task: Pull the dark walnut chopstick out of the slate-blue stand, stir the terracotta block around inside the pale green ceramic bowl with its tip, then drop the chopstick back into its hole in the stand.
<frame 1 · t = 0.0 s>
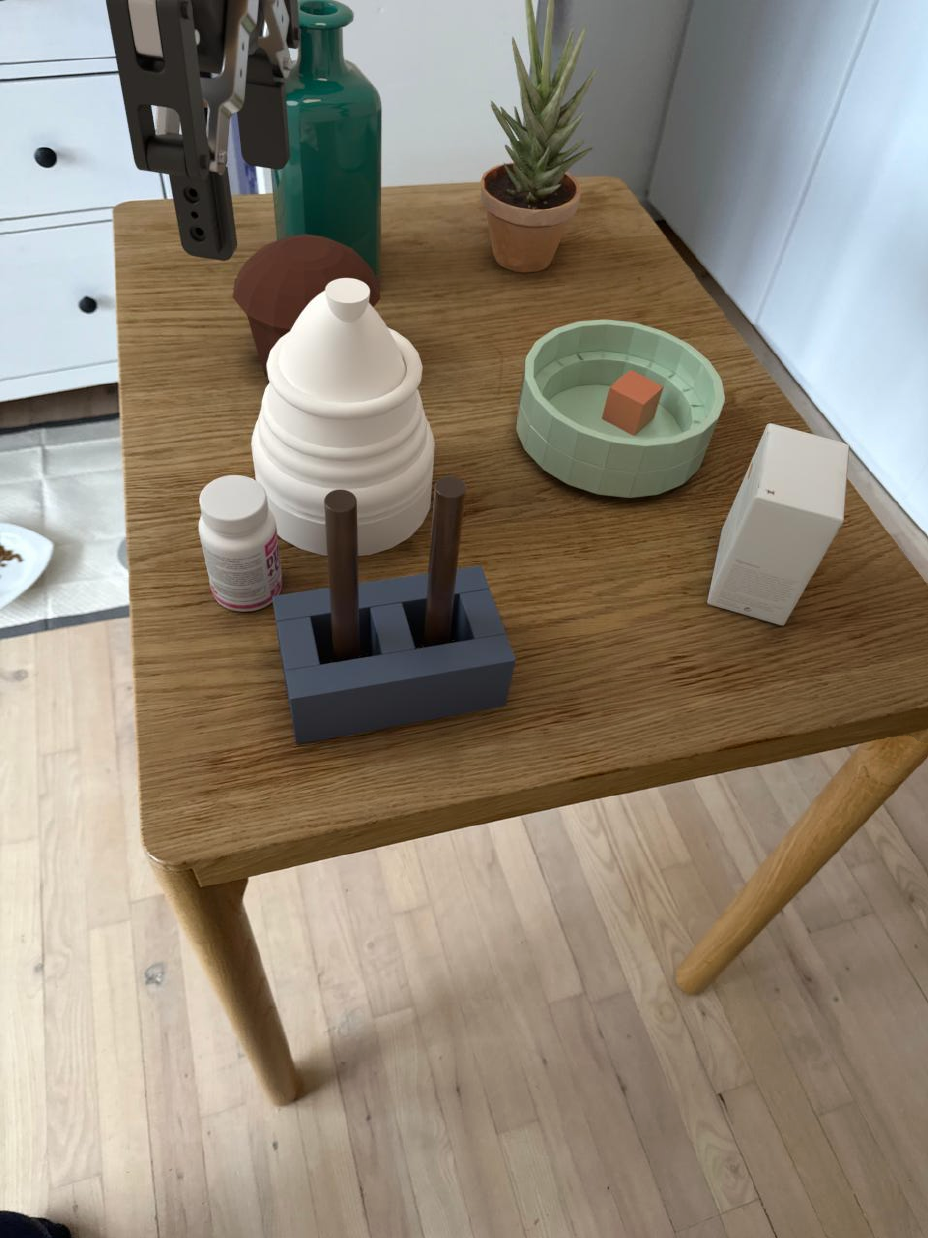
hand: (240, 206, 41), 26 cm above the table, tool pointing down, fingers open, 8 cm apart
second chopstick: (433, 667, 58), resting in chopstick stand
block: (627, 418, 74), point 1 cm above the table, touching bowl
small box: (749, 579, 65), on the table
pill bottle: (247, 588, 61), on the table
muffin: (312, 360, 77), on the table
potted plant: (521, 259, 89), on the table
bowl: (608, 438, 73), on the table
chopstick stand: (391, 675, 57), on the table
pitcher: (323, 272, 85), on the table
honey pot: (345, 495, 67), on the table
chopstick: (347, 682, 56), resting in chopstick stand
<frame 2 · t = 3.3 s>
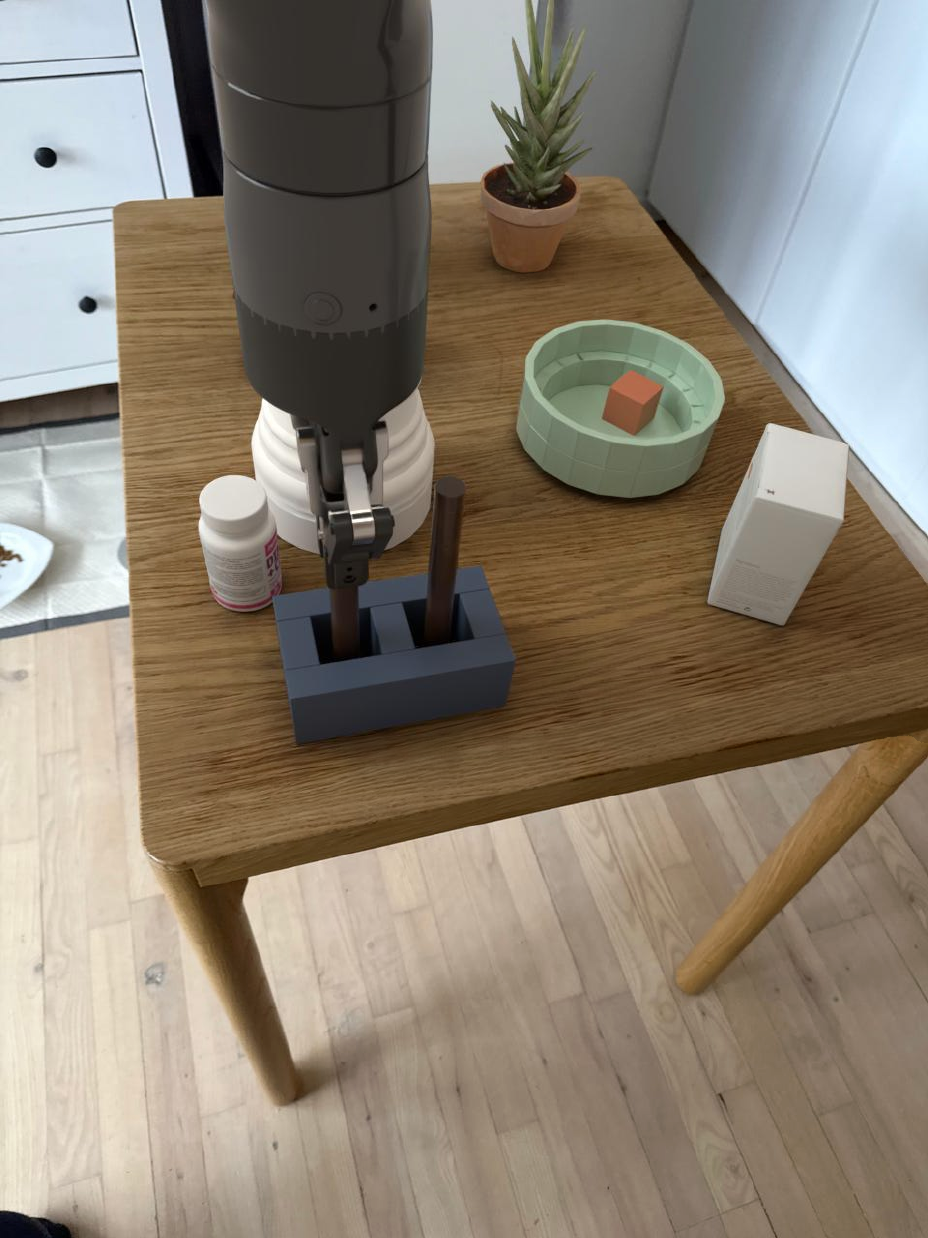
hand: (343, 566, 48), 11 cm above the table, tool pointing down, fingers closed on chopstick
chopstick: (347, 682, 56), resting in chopstick stand, touching gripper
everything else where it was.
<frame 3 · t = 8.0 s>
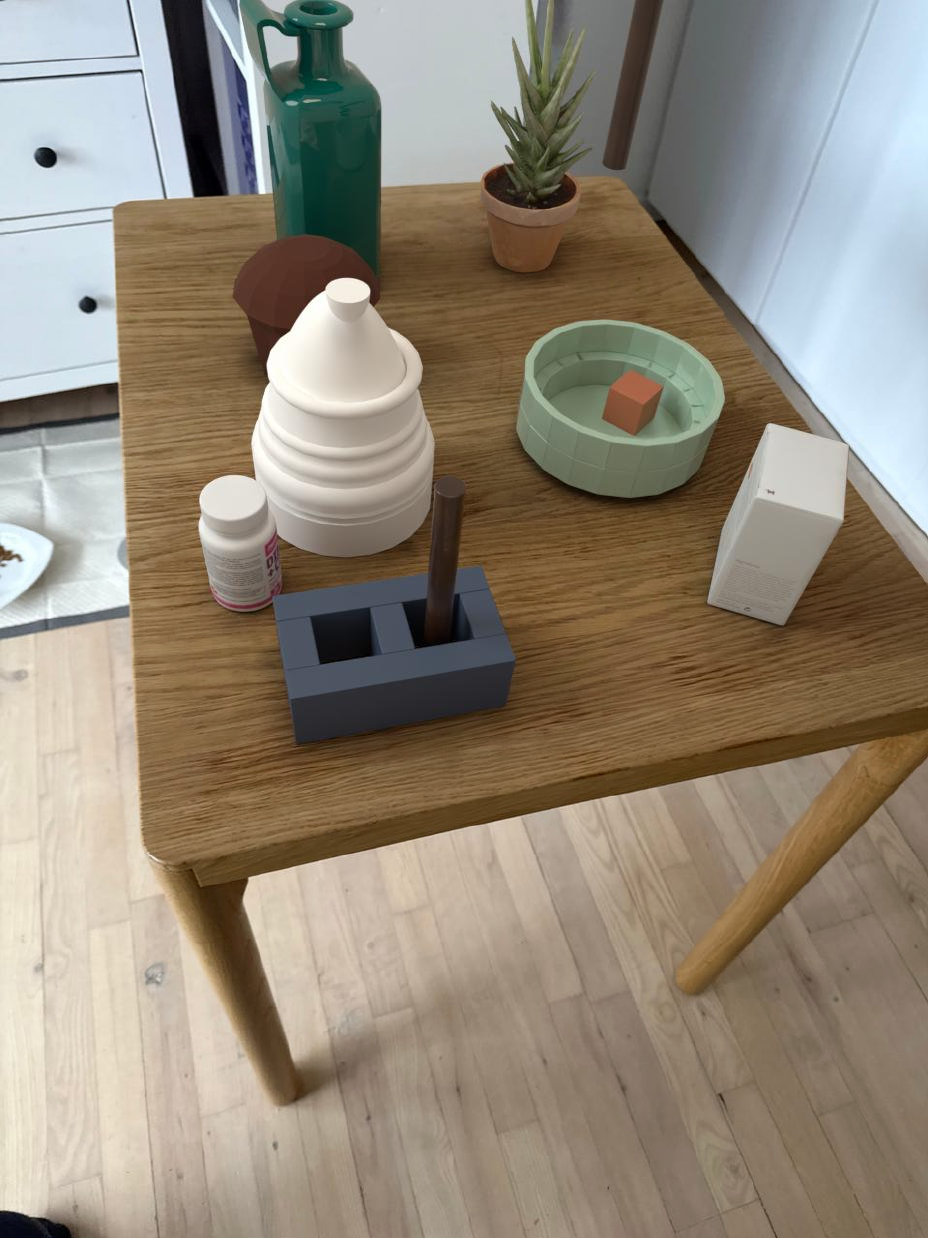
chopstick: (614, 164, 56), point 22 cm above the table, touching gripper
everything else where it was.
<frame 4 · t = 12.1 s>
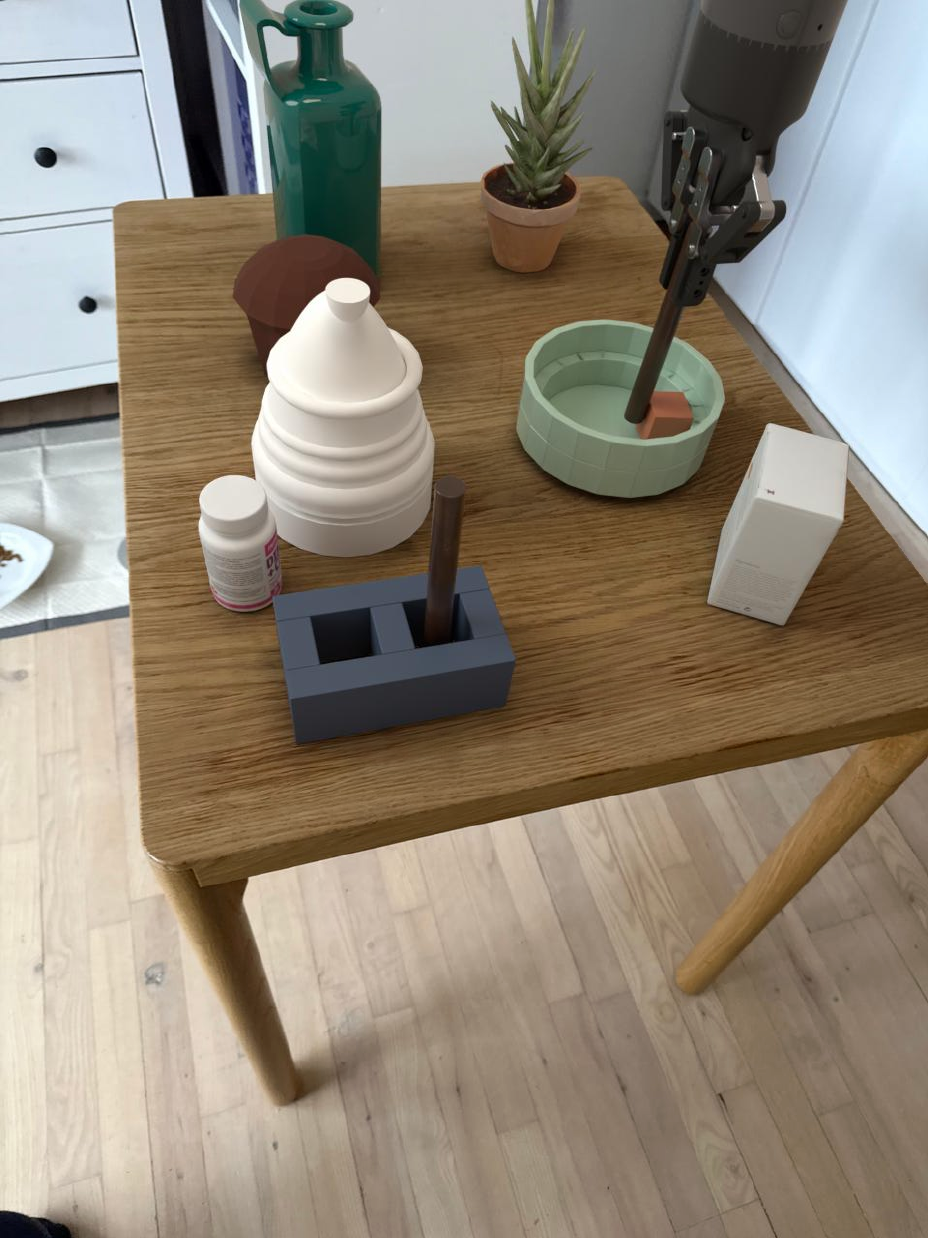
hand: (679, 293, 62), 14 cm above the table, tool pointing down, fingers closed on chopstick, 1 cm apart
block: (657, 435, 72), point 1 cm above the table, touching bowl, chopstick
chopstick: (633, 417, 71), point 2 cm above the table, touching block, gripper
everything else where it was.
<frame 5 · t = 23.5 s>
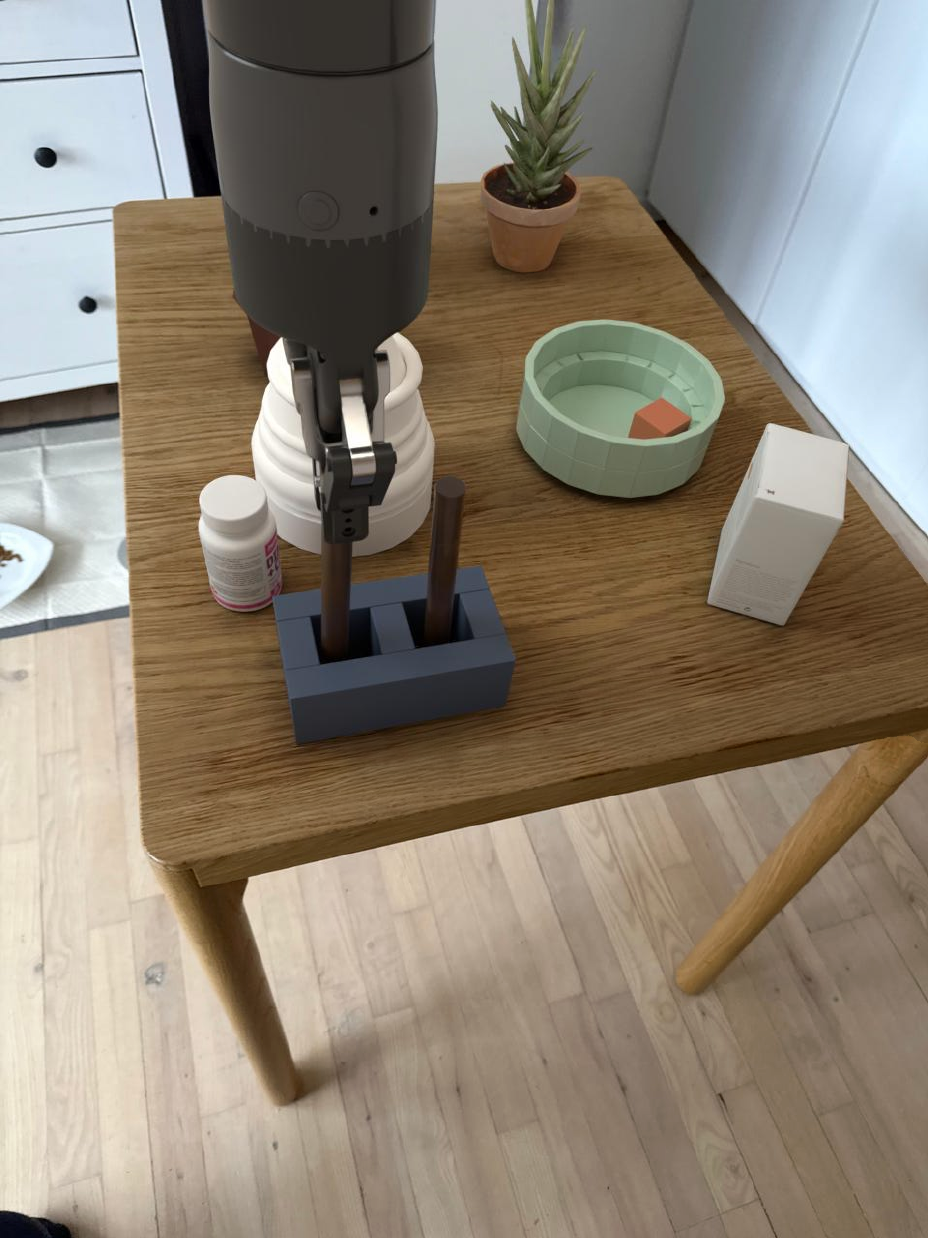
hand: (341, 520, 45), 15 cm above the table, tool pointing down, fingers closed on chopstick, 1 cm apart
block: (653, 446, 72), point 1 cm above the table, touching bowl
chopstick: (334, 651, 53), point 4 cm above the table, touching gripper
everything else where it was.
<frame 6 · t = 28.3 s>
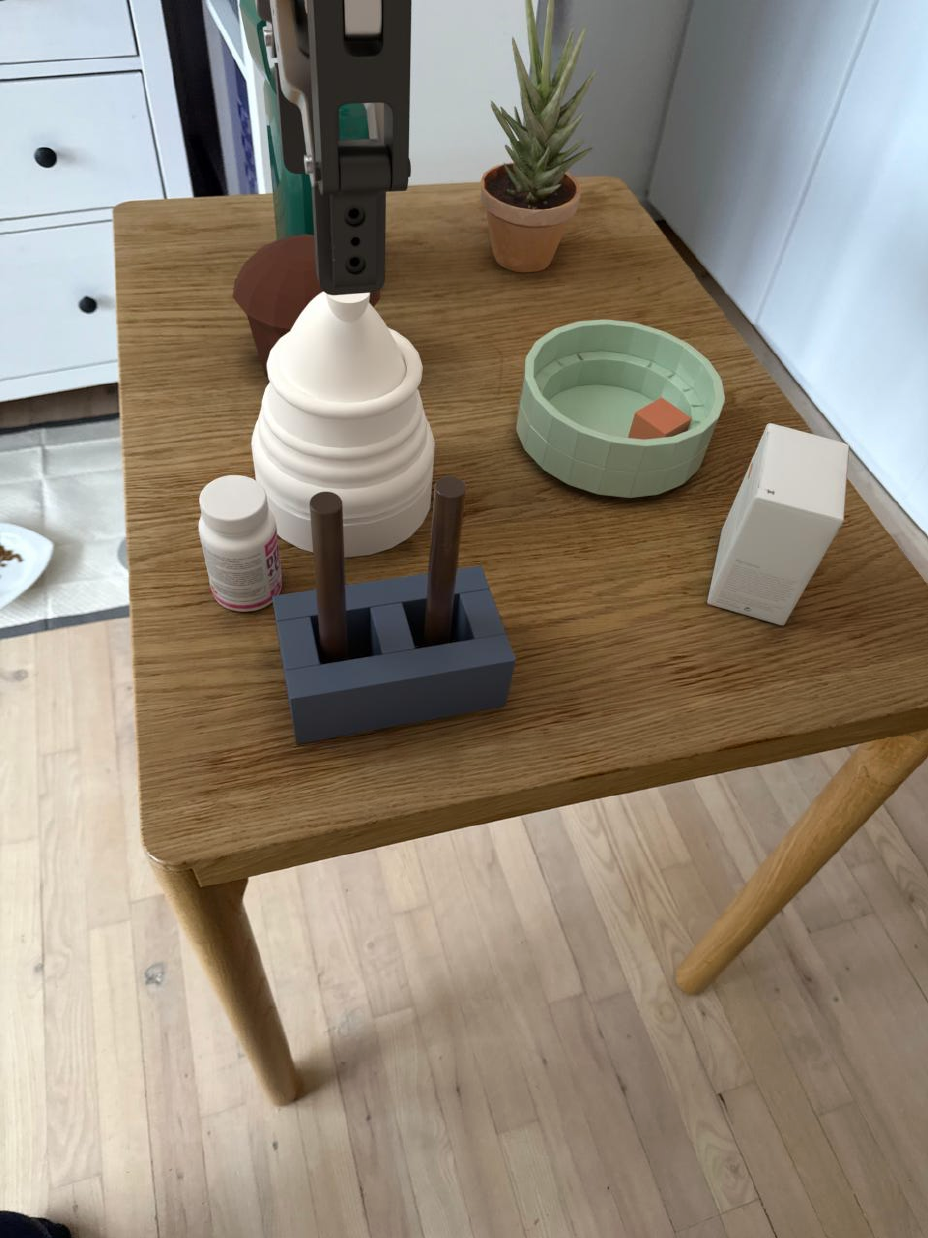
hand: (329, 223, 33), 30 cm above the table, tool pointing down, fingers open, 8 cm apart
chopstick: (336, 684, 56), resting in chopstick stand
everything else where it was.
at the end: block moved 3.8 cm from its start; block inside the target area in the bowl (3.8 cm from its centre), point 0.8 cm above the bowl's base; chopstick 0.7 cm from the target spot in the chopstick stand, point 0.0 cm above the chopstick stand's base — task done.
